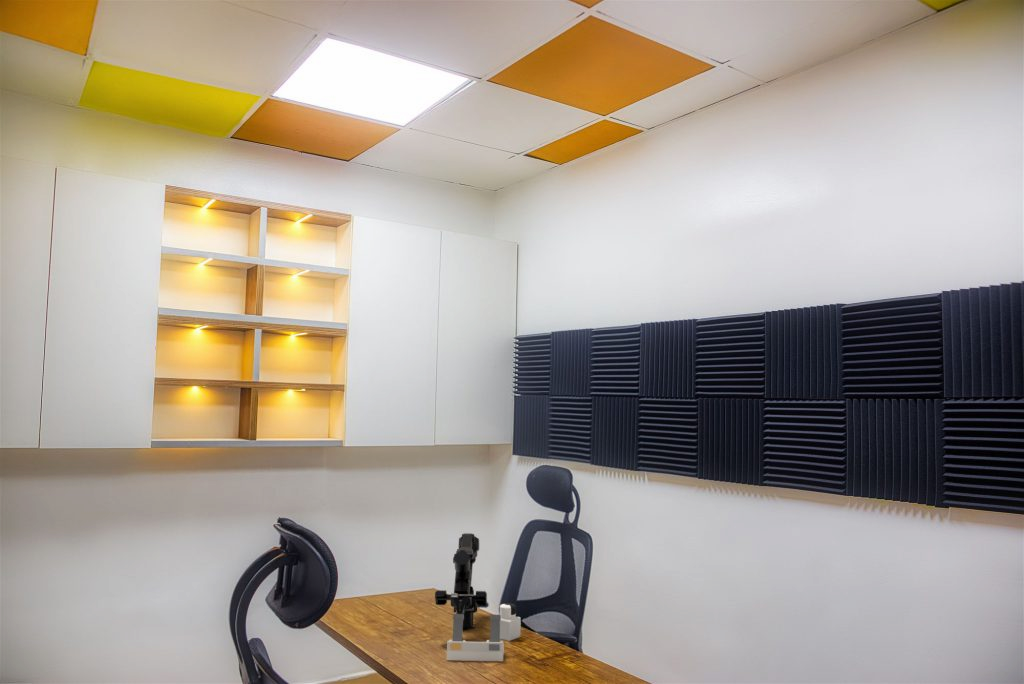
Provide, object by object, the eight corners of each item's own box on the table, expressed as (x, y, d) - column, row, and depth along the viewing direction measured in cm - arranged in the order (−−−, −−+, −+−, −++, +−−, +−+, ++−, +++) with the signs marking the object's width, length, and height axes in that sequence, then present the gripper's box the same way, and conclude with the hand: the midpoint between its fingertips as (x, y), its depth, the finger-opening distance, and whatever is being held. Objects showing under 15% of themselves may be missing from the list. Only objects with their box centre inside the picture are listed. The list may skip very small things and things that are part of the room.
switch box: (449, 651, 262) (449, 634, 262) (503, 652, 261) (503, 634, 262) (446, 660, 252) (446, 642, 253) (502, 661, 252) (503, 643, 253)
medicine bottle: (505, 633, 284) (505, 600, 285) (520, 636, 280) (521, 603, 281) (494, 637, 278) (494, 604, 280) (509, 641, 274) (510, 607, 275)
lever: (489, 645, 259) (490, 615, 263) (500, 645, 259) (500, 615, 263) (489, 645, 257) (490, 614, 261) (499, 645, 257) (500, 614, 261)
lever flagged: (452, 645, 259) (453, 614, 263) (462, 645, 259) (463, 614, 263) (451, 644, 257) (453, 613, 261) (462, 644, 257) (463, 614, 261)
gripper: (488, 593, 284) (486, 631, 271) (438, 592, 284) (434, 630, 272) (487, 576, 277) (485, 615, 264) (436, 575, 277) (432, 614, 265)
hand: (459, 619), depth 267 cm, fingers closed
